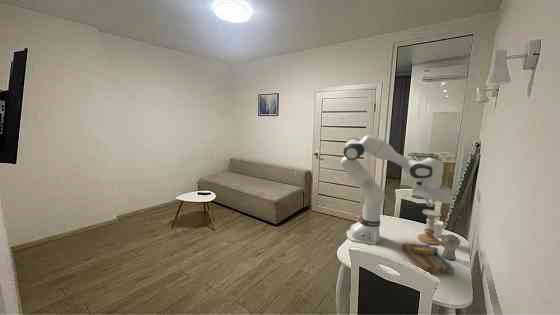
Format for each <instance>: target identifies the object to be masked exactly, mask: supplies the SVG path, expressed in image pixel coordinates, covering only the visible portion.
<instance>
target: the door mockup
mask: <svg viewBox="0 0 560 315" xmlns="http://www.w3.org/2000/svg"><path fill="white" fill-rule="evenodd" d="M413 247H416V248H432V247H433V246H432V245H430V244H421V243H420V244H419V243H402V247H401V250H402V251H403V253H404V254H405V255H406V256H407V257H408V259H409V260H410V261H411V262H412V263H413V265H414V266H415V265H416V266H417V267H419V268H421V269H423V270H424V271H426V272H429V273H430V274H429V275H442V276H443V275H445V276H454V274H455V267H453V265H452V264H451V263H449V262H448V261H447V260H446V259H445V258H444V257H443V256H442V255H441V254H440V253H439V252H438V253H437V255H429V254H414V253H413V251H412V248H413ZM416 266H415V267H416ZM417 267H416V268H417Z"/></svg>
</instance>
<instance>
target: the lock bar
mask: <svg viewBox="0 0 560 315" xmlns="http://www.w3.org/2000/svg"><path fill="white" fill-rule="evenodd" d="M431 247H432V248H416V247H413V248H412V251H413V253H414V254H429V255H437V253H439V249H438V248H437V247H435V246H431Z"/></svg>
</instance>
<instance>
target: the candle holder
mask: <svg viewBox="0 0 560 315" xmlns="http://www.w3.org/2000/svg"><path fill="white" fill-rule="evenodd" d="M421 213H422V214H424V215H426V217H427V218H426V224H425V225H424V230H423V231H424V233H420V234H418V235H417V239H418V240H419V242H420V241H421V242H422V243H423V244H425V245H430V246H437V245H438V246H439V245H440V243H441V242H440V239H439V238H438V237H435V236H433V234H434V233H435V232H434V229H435V227H434V223H435V220H436V219H435V218H441V216H442V213H440V212H439V211H437V210H433V209H423V210H422V212H421Z"/></svg>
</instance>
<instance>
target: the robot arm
mask: <svg viewBox="0 0 560 315" xmlns="http://www.w3.org/2000/svg"><path fill="white" fill-rule="evenodd" d="M342 153H343V155H344V156H343V157H342V158H341V160H340V165H341V167H342V169H343V170H344V171H345V173H346V174H347V175H348V176H349V177H350V179H351V180H352V181H353V182H354V184H355V185H357V187H358V188H359V190H361V191H362V192H363V194H364V195H365V198H364V199H365V200H364V204H363V206H362V215H361V216H360V215H357V216H356V217H357V219H358V220H359V221H357V222H355V223H353V224H351V225H350V229H348V230H347V231H346V236H347V238H348V240H350V241H351V240H352V241H351V242H354V241H356V242H355V243H360V244H361V243H362V244H369V245H377V243H379V242H380V241H381V239H382V238H381V234H380V227H381V210H382V204H383V203H384V201H385V199H386V194H385V191H384V189H383V188H382V187H381V185H379V184H378V183H377V181H376V180H375V179H374V178H373V177H372V175H370V173H369V171H367V169H366V168H365V167H364V166H363V165H362V163H361V162H360V161H359V160H358V158H360V157H361V156H362V155H364V154H365V153H368V154H369V155H371V156H373V157H375V158H377V159H380V160H382V161H391V162H393V163H395V165H396V164H397V165H398V166H400V168H402V169H403V170H404V172H406V174H408V175H409V176H411V177H412V178H414V179H419V180H415V181H414V185H413V186H412V190H411V191H412V192H411V194H412V195H413V196H417V197H420V198H423V199H424V198H425V199H424V200H425V202H426V206H428V207H434V204H435V203H436V202H439V203H443V204H447V205H448V204H451V203H452V202H453V195H454V190H453V189H452V188H451V187H448V186H447V187H446V186H445V185H443V174H444V170H445V167H444V160H442V159H441V158H437V157H433V156H429V157H427V158H425V159H423V160H417V159H413V158H407V157H405V156H404V155H402V154H400V153H398V152H397V151H395V149H394V146H392V145H391V144H390V143H388V142H386V141H385V140H383V139H381V138H379V137H377V136H374V135H370V134H366V135H365V136H363V137H362V138H361V139H359V138H357V137H356V138H355V137H351V138H349V139H347V140H346V141H345V144H344V147H343V152H342ZM429 200H431V202H430V201H429ZM351 235H352V236H351ZM350 236H351V237H350ZM349 237H350V238H349Z"/></svg>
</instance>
